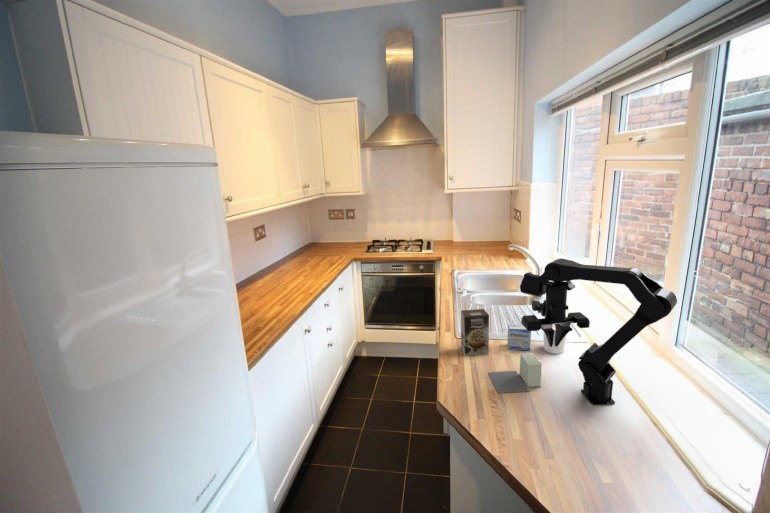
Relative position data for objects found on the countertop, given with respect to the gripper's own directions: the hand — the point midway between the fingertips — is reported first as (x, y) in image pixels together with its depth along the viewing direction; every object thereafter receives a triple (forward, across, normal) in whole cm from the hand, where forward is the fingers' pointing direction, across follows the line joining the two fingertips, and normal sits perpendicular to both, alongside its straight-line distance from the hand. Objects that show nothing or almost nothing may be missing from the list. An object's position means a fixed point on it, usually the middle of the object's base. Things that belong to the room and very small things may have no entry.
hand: (553, 346), depth 111 cm
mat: (+12, +14, 0) cm, 19 cm away
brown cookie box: (+12, +20, -20) cm, 31 cm away
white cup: (+12, -9, -18) cm, 24 cm away
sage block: (+12, +7, 0) cm, 14 cm away
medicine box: (+12, +3, -21) cm, 25 cm away
